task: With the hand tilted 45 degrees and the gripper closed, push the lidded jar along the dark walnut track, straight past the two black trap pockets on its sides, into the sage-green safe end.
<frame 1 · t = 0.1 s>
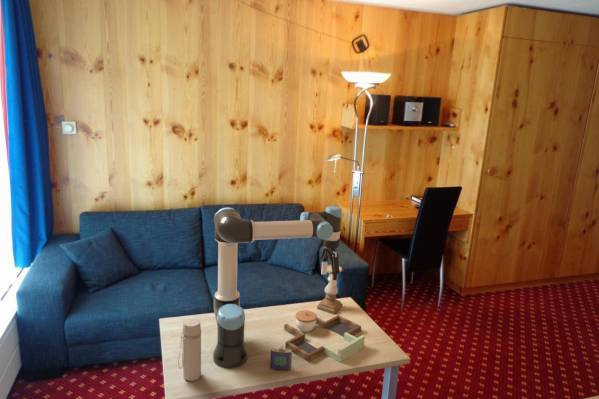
hand: (328, 279, 219), 28 cm above the table, tool pointing down, fingers open, 13 cm apart
water bottle: (190, 377, 185), on the table
candle holder: (329, 308, 250), on the table
lidded jar: (305, 329, 227), on the table
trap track: (322, 338, 219), on the table
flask: (280, 368, 194), on the table
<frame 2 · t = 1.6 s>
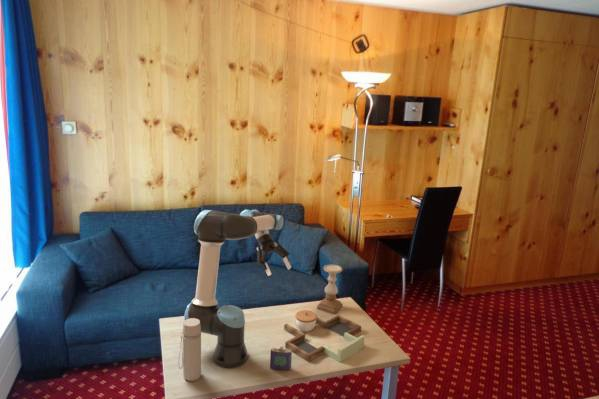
hand: (280, 271, 235), 24 cm above the table, tool tilted 45°, fingers open, 13 cm apart
nothing on the table moved.
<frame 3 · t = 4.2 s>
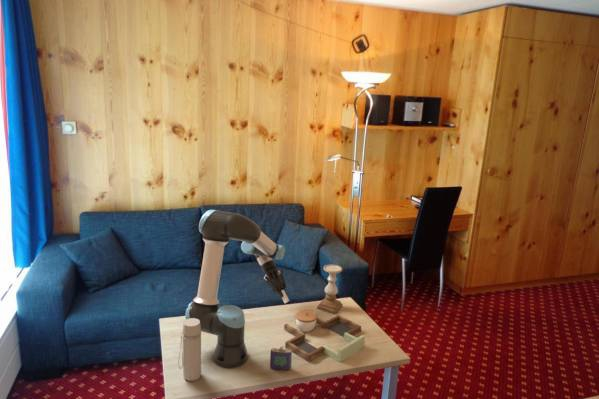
hand: (287, 302, 236), 8 cm above the table, tool tilted 45°, fingers closed
nothing on the table moved.
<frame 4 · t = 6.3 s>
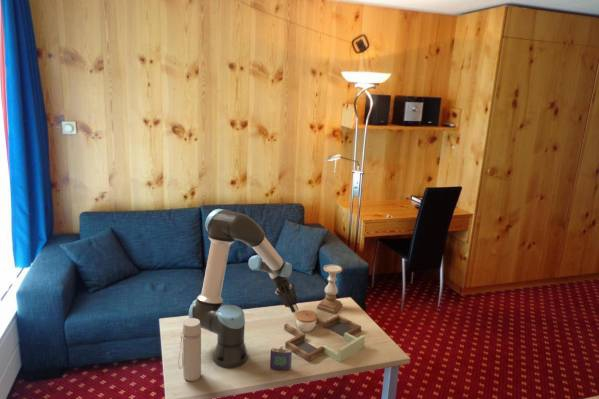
hand: (298, 317, 231), 4 cm above the table, tool tilted 45°, fingers closed
lidded jar: (305, 329, 226), on the table, touching gripper
everything else where it was.
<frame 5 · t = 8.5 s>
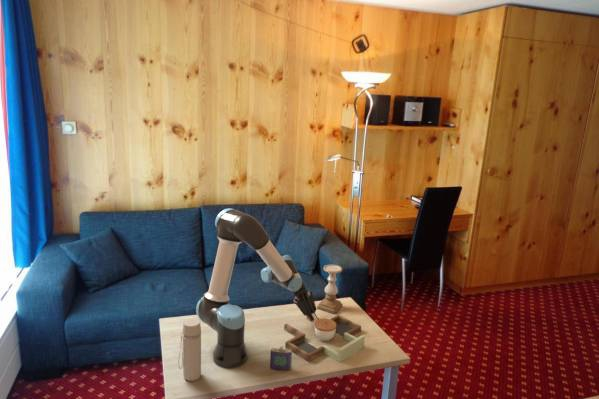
hand: (317, 326, 224), 3 cm above the table, tool tilted 45°, fingers closed
lidded jar: (324, 338, 219), on the table, touching gripper
everything else where it was.
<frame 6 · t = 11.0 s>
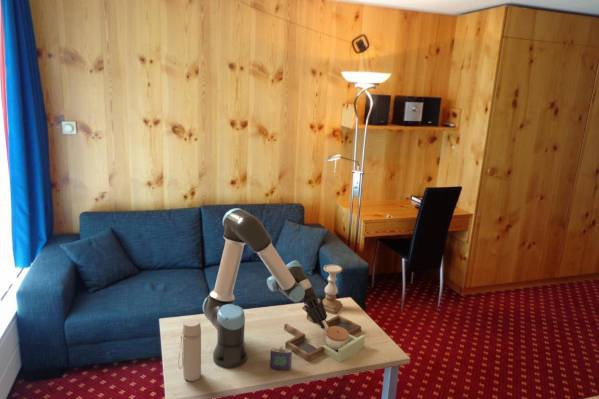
hand: (328, 333, 216), 4 cm above the table, tool tilted 45°, fingers closed
lidded jar: (335, 346, 212), on the table, touching gripper
everything else where it was.
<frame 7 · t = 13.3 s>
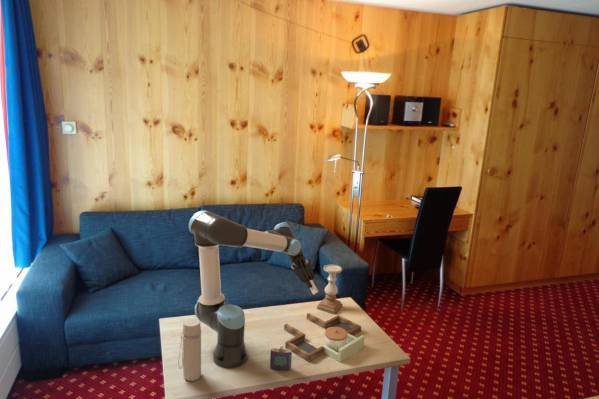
hand: (315, 293, 218), 22 cm above the table, tool tilted 45°, fingers closed
lidded jar: (335, 347, 212), on the table
everything else where it was.
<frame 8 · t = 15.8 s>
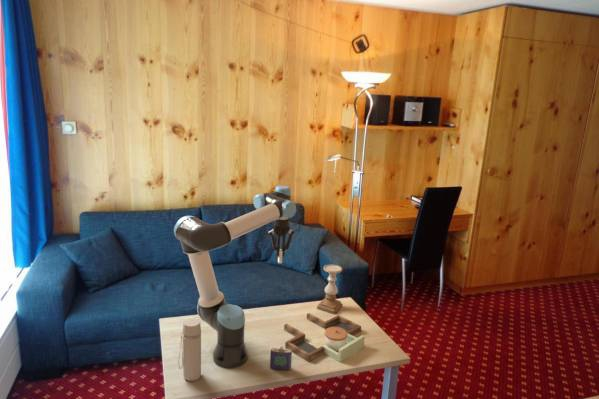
hand: (279, 262, 225), 32 cm above the table, tool pointing down, fingers closed
nothing on the table moved.
at the end: lidded jar inside the target area (2.6 cm from its centre), on the table; lidded jar tilted 0° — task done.
